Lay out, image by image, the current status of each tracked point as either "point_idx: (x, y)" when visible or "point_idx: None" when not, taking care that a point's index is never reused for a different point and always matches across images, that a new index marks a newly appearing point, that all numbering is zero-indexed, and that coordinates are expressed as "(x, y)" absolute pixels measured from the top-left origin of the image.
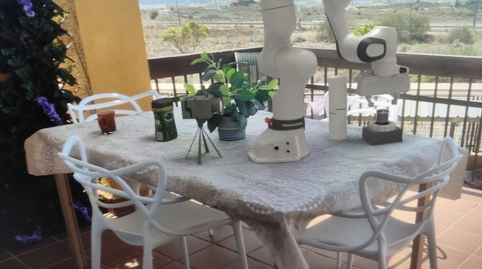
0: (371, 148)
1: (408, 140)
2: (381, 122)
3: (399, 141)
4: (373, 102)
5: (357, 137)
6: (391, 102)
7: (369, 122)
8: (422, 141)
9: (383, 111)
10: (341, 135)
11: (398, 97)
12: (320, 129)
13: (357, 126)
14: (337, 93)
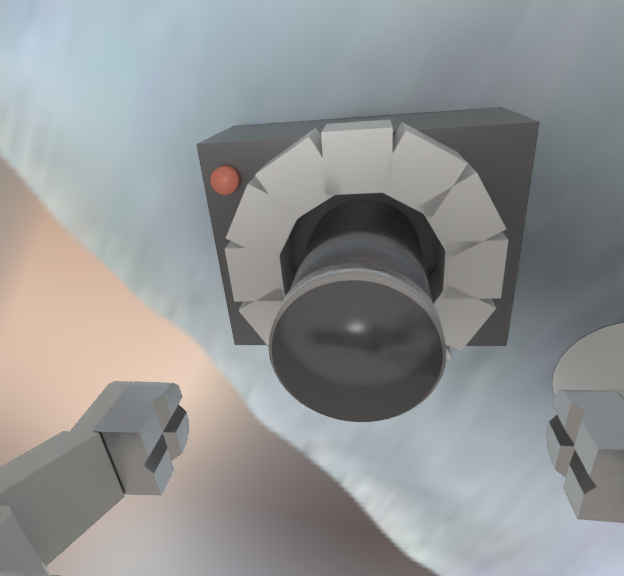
0: (560, 26)
1: (175, 148)
2: (399, 233)
3: (255, 125)
4: (598, 463)
5: None
6: (178, 451)
7: (466, 339)
8: (82, 88)
9: (374, 304)
10: None
11: (11, 470)
12: (607, 538)
13: (367, 507)
14: None
